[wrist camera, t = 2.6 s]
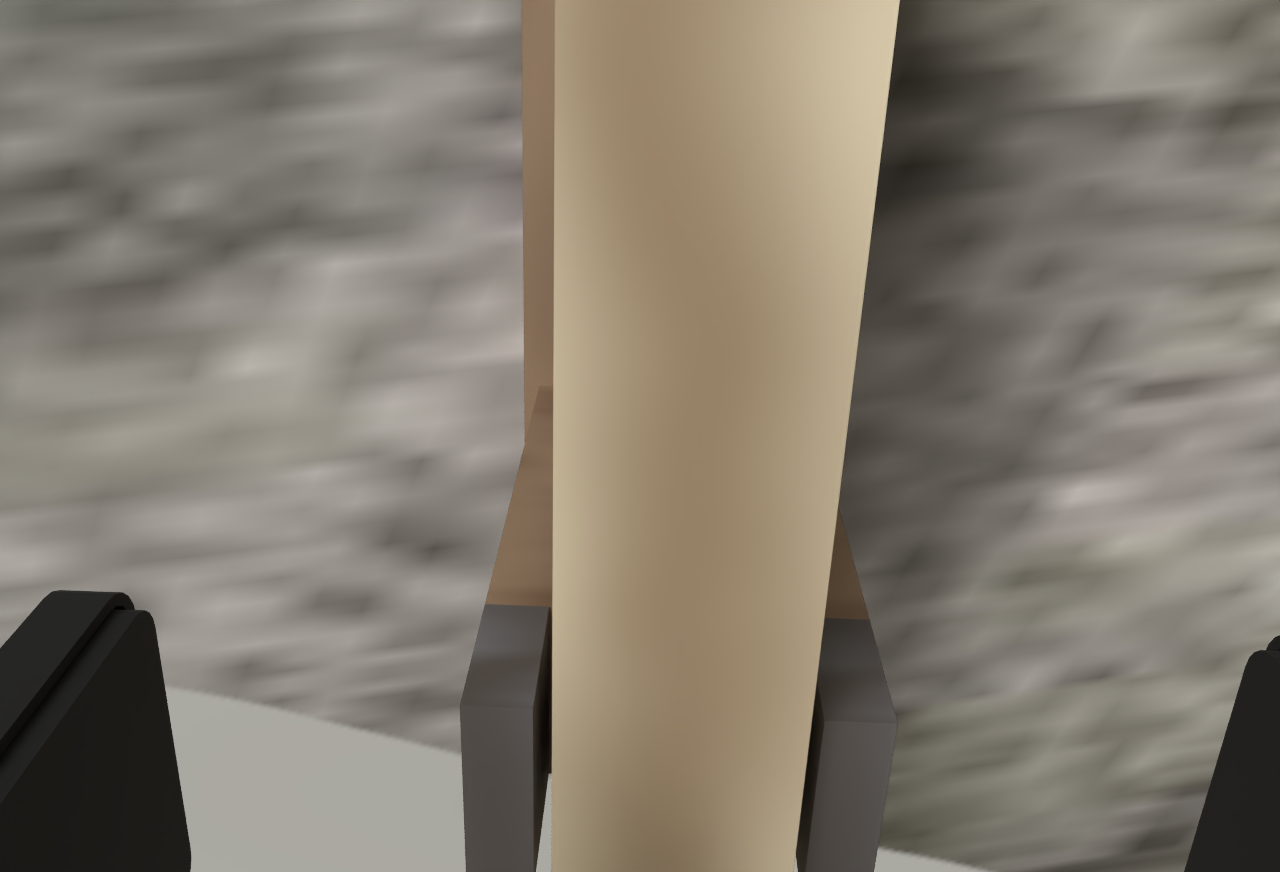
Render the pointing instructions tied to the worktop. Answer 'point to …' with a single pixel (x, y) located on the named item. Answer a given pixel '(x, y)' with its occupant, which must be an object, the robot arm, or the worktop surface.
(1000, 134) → the worktop surface
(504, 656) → the walnut rack
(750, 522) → the maple bar
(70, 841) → the robot arm
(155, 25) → the worktop surface
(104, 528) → the worktop surface
